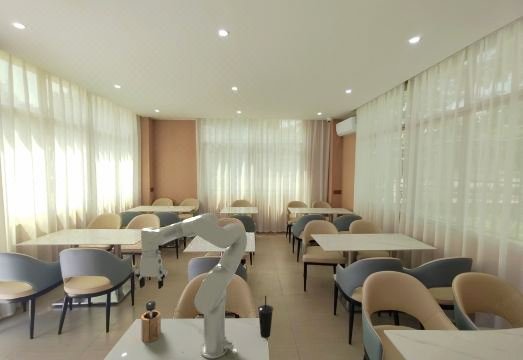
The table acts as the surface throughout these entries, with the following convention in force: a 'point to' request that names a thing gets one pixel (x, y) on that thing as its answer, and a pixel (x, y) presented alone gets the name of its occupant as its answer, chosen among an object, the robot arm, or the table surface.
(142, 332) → the brown faceted holder
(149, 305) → the plunger
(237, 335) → the table surface
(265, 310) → the drinking cup
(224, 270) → the robot arm
